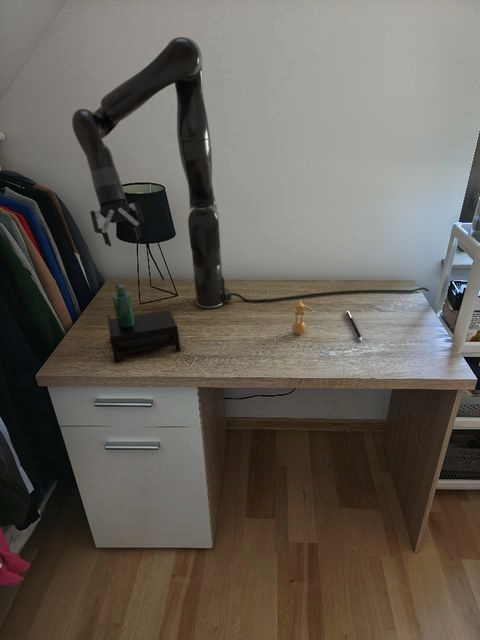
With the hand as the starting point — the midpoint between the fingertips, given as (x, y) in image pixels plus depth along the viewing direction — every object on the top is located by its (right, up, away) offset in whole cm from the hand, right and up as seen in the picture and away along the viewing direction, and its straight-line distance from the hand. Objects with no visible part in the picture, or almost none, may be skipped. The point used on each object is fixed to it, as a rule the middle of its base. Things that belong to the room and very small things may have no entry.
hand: (124, 242), depth 140 cm
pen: (+68, -23, +7) cm, 72 cm away
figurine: (+51, -27, +3) cm, 58 cm away
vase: (+2, -24, -4) cm, 24 cm away
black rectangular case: (+6, -30, -1) cm, 31 cm away
